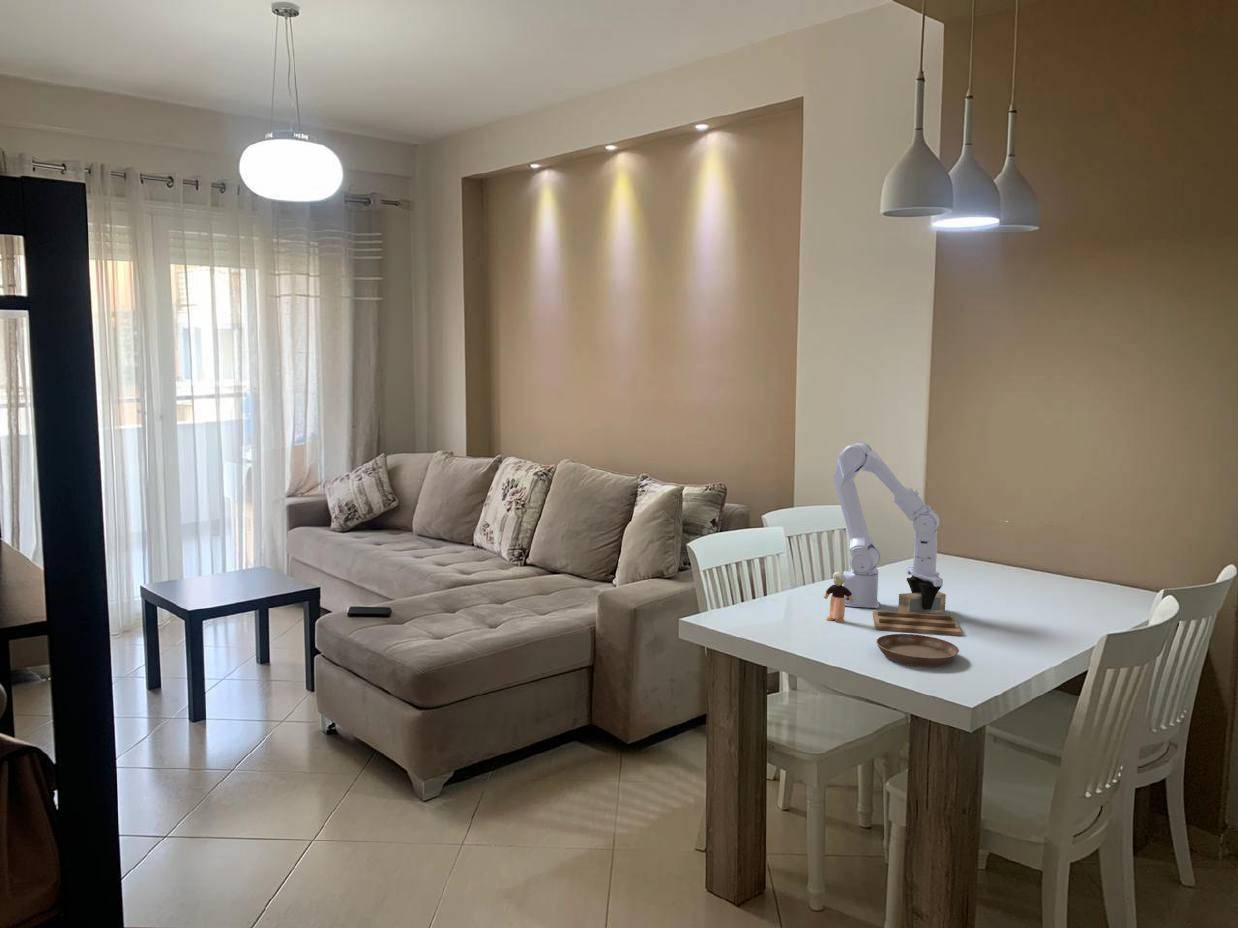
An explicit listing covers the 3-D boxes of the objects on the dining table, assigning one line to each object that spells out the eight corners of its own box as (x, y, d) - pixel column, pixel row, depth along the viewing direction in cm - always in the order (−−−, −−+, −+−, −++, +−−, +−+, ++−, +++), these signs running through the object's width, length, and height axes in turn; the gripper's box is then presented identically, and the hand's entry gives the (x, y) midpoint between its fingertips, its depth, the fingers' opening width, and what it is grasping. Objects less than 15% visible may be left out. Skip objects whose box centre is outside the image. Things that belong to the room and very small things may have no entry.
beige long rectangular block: (904, 615, 238) (905, 596, 237) (898, 612, 241) (899, 593, 240) (945, 612, 241) (946, 594, 240) (938, 609, 244) (939, 591, 243)
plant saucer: (940, 645, 213) (940, 632, 213) (971, 670, 196) (972, 656, 195) (865, 645, 213) (866, 632, 212) (890, 670, 195) (891, 657, 195)
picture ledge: (875, 629, 224) (875, 621, 224) (872, 614, 238) (872, 607, 238) (961, 635, 220) (961, 627, 220) (953, 620, 233) (953, 612, 233)
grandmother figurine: (821, 620, 232) (822, 572, 230) (823, 616, 235) (825, 568, 234) (852, 624, 229) (854, 574, 227) (854, 620, 232) (856, 571, 231)
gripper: (954, 561, 233) (951, 613, 234) (924, 550, 247) (921, 598, 248) (929, 562, 231) (926, 614, 233) (900, 551, 245) (898, 600, 247)
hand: (922, 606), depth 241 cm, fingers open, 4 cm apart
